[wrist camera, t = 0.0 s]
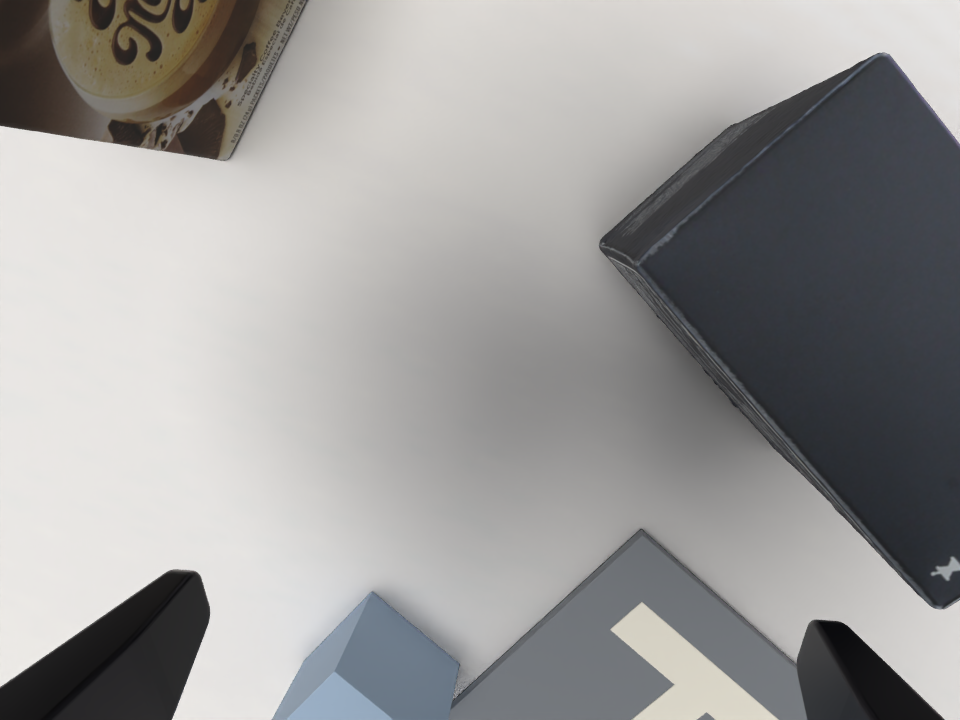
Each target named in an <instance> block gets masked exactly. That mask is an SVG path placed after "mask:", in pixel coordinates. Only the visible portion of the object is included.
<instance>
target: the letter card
mask: <svg viewBox="0 0 960 720" xmlns="http://www.w3.org/2000/svg"><path fill="white" fill-rule="evenodd" d="M448 720H807V716H806V712H805V707H804V703H803V698H802V693H801V689H800V684H799V680H798V674H797V665H796V664H795V663H794V662H793V661H792V660H790V659H789V658H788V657H787V656H786V655H785V654H783V653H782V652H781V651H780V650H779V649H778V648H777V647H775V646H774V645H773V644H772V643H771V642H770V641H769V640H767V639H766V638H765V637H764V636H763V635H762V634H761V633H759V632H758V631H757V630H756V629H755V628H754V627H753V626H751V625H750V624H749V623H748V622H747V621H746V620H745V619H743V618H742V617H741V616H740V615H739V614H738V613H737V612H735V611H734V610H733V609H732V608H731V607H730V606H729V605H727V604H726V603H725V602H724V601H723V600H722V599H721V598H719V597H718V596H717V595H716V594H715V593H714V592H713V591H711V590H710V589H709V588H708V587H707V586H706V585H705V584H703V583H702V582H701V581H700V580H699V579H698V578H696V577H695V576H694V575H693V574H692V573H691V572H690V571H688V570H687V569H686V568H685V567H684V566H683V565H682V564H680V563H679V562H678V561H677V560H676V559H675V558H674V557H672V556H671V555H670V554H669V553H668V552H667V551H666V550H664V549H663V548H662V547H661V546H660V545H659V544H658V543H656V542H655V541H654V540H653V539H652V538H651V537H650V536H648V535H647V534H646V533H645V532H644V531H643V530H642V529H641V530H640V531H638V532H637V533H636V534H635V535H634V536H633V537H632V538H631V539H630V540H629V541H627V542H626V543H625V544H624V545H623V546H622V547H621V548H620V549H619V550H618V551H617V552H615V553H614V554H613V555H612V556H611V557H610V558H609V559H608V560H607V561H606V562H604V563H603V564H602V565H601V566H600V567H599V568H598V569H597V570H596V571H595V572H594V573H592V574H591V575H590V576H589V577H588V578H587V579H586V580H585V581H584V582H583V583H581V584H580V585H579V586H578V587H577V588H576V589H575V590H574V591H573V592H572V593H571V594H569V595H568V596H567V597H566V598H565V599H564V600H563V601H562V602H561V603H560V604H559V605H557V606H556V607H555V608H554V609H553V610H552V611H551V612H550V613H549V614H548V615H546V616H545V617H544V618H543V619H542V620H541V621H540V622H539V623H538V624H537V625H536V626H534V627H533V628H532V629H531V630H530V631H529V632H528V633H527V634H526V635H525V636H523V637H522V638H521V639H520V640H519V641H518V642H517V643H516V644H515V645H514V646H513V647H511V648H510V649H509V650H508V651H507V652H506V653H505V654H504V655H503V656H502V657H500V658H499V659H498V660H497V661H496V662H495V663H494V664H493V665H492V666H491V667H490V668H488V669H487V670H486V671H485V672H484V673H483V674H482V675H481V676H480V677H479V678H477V679H476V680H475V681H474V682H473V683H472V684H471V685H470V686H469V687H468V688H467V689H465V690H464V691H463V692H462V693H461V694H460V695H459V696H458V697H457V698H456V699H454V700H453V701H452V704H451V709H450V714H449V719H448Z"/></svg>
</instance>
